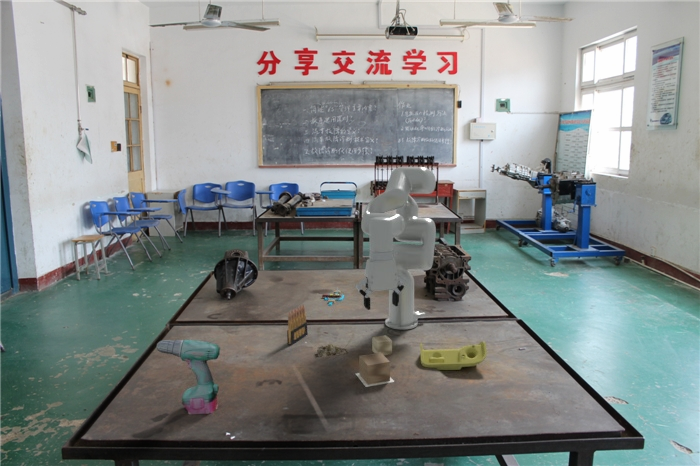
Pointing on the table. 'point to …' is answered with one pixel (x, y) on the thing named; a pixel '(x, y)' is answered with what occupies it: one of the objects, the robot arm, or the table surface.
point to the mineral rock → (330, 350)
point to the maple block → (382, 345)
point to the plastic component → (453, 357)
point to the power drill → (196, 372)
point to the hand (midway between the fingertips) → (381, 306)
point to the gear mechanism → (334, 297)
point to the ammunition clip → (296, 325)
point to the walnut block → (374, 368)
